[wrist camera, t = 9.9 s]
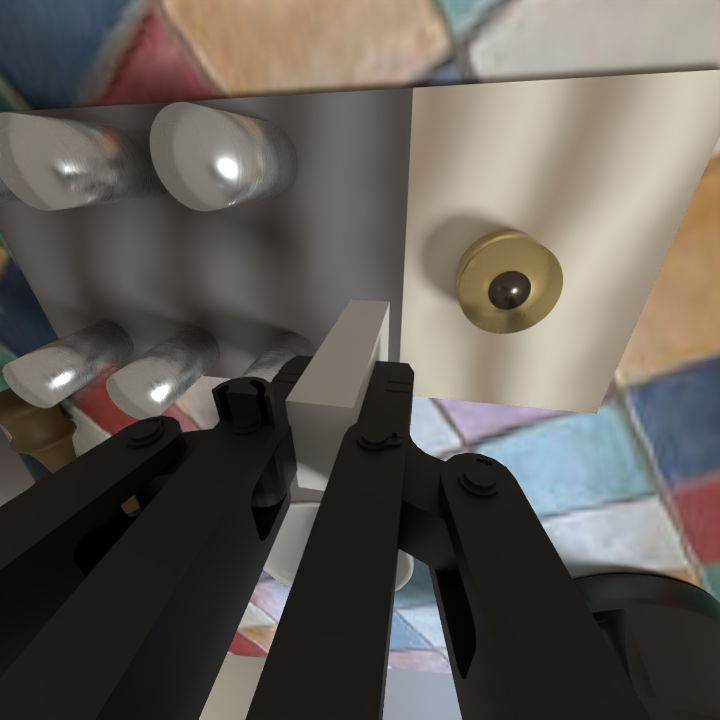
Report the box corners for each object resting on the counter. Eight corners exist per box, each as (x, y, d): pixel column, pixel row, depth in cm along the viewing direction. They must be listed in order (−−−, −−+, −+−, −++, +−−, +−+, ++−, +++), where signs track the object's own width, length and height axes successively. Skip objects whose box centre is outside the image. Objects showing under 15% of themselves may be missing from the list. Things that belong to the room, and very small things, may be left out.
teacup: (300, 397, 25) (252, 485, 18) (438, 443, 25) (440, 548, 18) (278, 503, 33) (238, 593, 26) (384, 539, 32) (371, 639, 26)
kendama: (97, 378, 29) (167, 523, 39) (12, 369, 31) (99, 509, 41) (23, 422, 24) (126, 576, 34) (-73, 407, 26) (50, 558, 36)
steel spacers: (294, 119, 15) (225, 99, 10) (319, 376, 23) (286, 438, 18) (-4, 133, 18) (-171, 122, 13) (103, 356, 26) (21, 405, 20)
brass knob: (547, 220, 16) (565, 229, 13) (546, 307, 18) (562, 327, 15) (451, 241, 17) (453, 252, 15) (460, 320, 19) (463, 340, 17)
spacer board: (732, 72, 13) (750, 67, 12) (591, 405, 21) (596, 413, 20) (-45, 117, 19) (-62, 115, 18) (80, 358, 27) (71, 363, 27)
